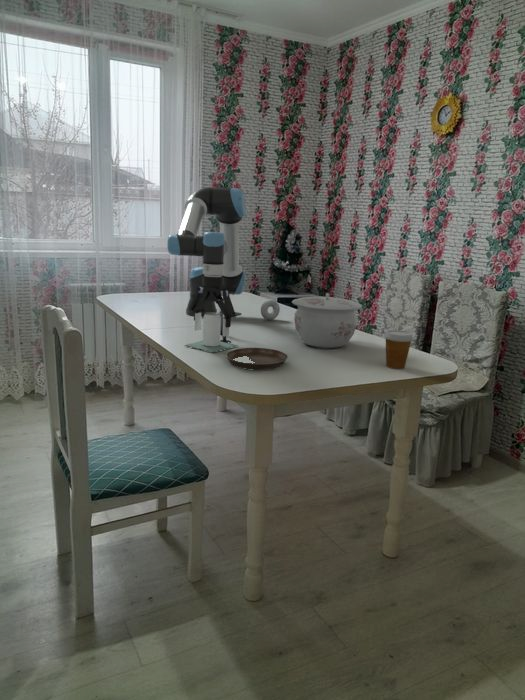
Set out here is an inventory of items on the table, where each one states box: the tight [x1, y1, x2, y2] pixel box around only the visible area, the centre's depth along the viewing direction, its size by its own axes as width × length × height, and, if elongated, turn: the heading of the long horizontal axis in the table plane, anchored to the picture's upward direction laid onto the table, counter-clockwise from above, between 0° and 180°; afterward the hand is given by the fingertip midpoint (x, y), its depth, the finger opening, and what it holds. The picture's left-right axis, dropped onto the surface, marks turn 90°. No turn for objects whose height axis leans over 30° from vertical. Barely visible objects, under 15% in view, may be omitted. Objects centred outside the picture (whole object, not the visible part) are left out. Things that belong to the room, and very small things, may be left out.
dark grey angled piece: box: [218, 308, 242, 343], centre depth 215 cm, size 14×14×10 cm
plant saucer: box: [225, 347, 288, 371], centre depth 181 cm, size 21×21×3 cm
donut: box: [260, 299, 281, 321], centre depth 257 cm, size 10×4×10 cm, turn 117°
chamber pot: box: [291, 292, 363, 350], centre depth 211 cm, size 28×28×21 cm
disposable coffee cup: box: [384, 329, 414, 370], centre depth 185 cm, size 10×10×12 cm
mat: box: [184, 340, 238, 352], centre depth 201 cm, size 14×14×1 cm
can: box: [202, 312, 221, 347], centre depth 200 cm, size 6×6×12 cm
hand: (211, 332), depth 200 cm, fingers open, 13 cm apart
